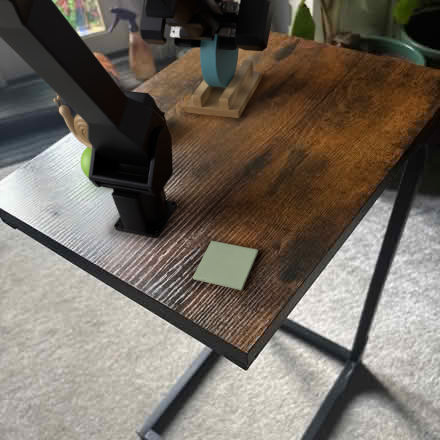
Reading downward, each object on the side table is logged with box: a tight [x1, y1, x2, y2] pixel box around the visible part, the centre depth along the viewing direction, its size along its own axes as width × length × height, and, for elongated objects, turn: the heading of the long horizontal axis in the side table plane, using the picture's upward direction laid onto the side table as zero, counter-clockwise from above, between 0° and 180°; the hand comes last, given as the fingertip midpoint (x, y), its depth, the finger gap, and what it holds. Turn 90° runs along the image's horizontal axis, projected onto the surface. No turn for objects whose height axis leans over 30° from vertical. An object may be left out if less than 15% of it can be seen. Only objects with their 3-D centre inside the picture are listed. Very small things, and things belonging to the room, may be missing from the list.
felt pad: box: [192, 240, 259, 291], centre depth 54 cm, size 6×6×1 cm
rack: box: [185, 59, 263, 119], centre depth 75 cm, size 12×9×3 cm
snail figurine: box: [53, 94, 92, 179], centre depth 62 cm, size 5×6×12 cm
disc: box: [199, 35, 240, 88], centre depth 71 cm, size 10×2×10 cm, turn 159°
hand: (223, 44), depth 71 cm, fingers closed on disc, 2 cm apart
